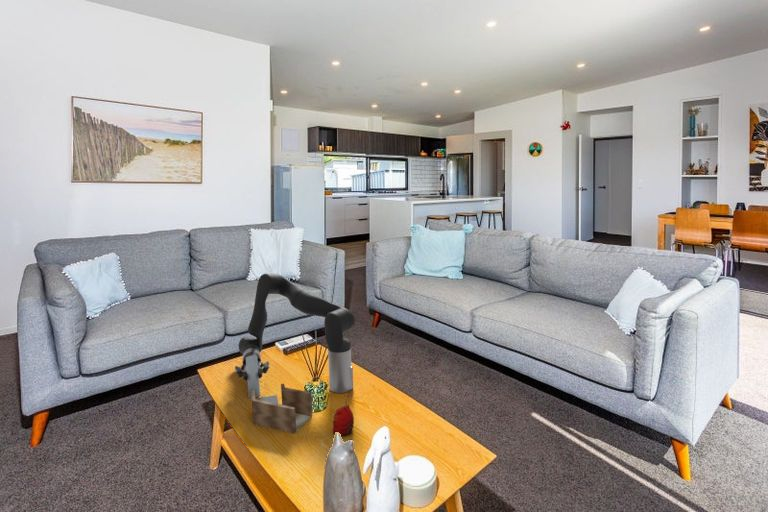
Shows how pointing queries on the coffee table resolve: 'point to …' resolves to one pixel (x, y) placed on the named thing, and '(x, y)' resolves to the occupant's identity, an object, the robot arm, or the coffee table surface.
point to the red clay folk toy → (343, 419)
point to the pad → (270, 399)
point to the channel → (283, 410)
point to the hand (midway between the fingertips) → (253, 377)
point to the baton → (252, 375)
